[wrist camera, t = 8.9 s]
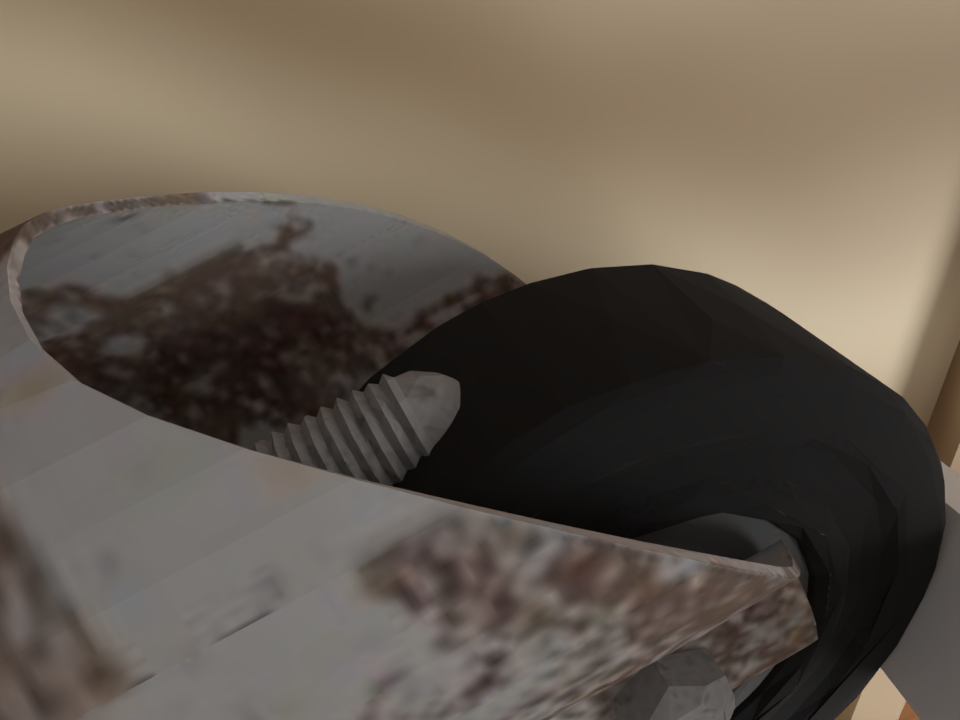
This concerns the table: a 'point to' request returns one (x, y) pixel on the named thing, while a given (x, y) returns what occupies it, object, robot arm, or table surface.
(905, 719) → the table surface
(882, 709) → the parts tray
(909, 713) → the table surface
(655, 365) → the caster wheel
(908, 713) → the table surface
